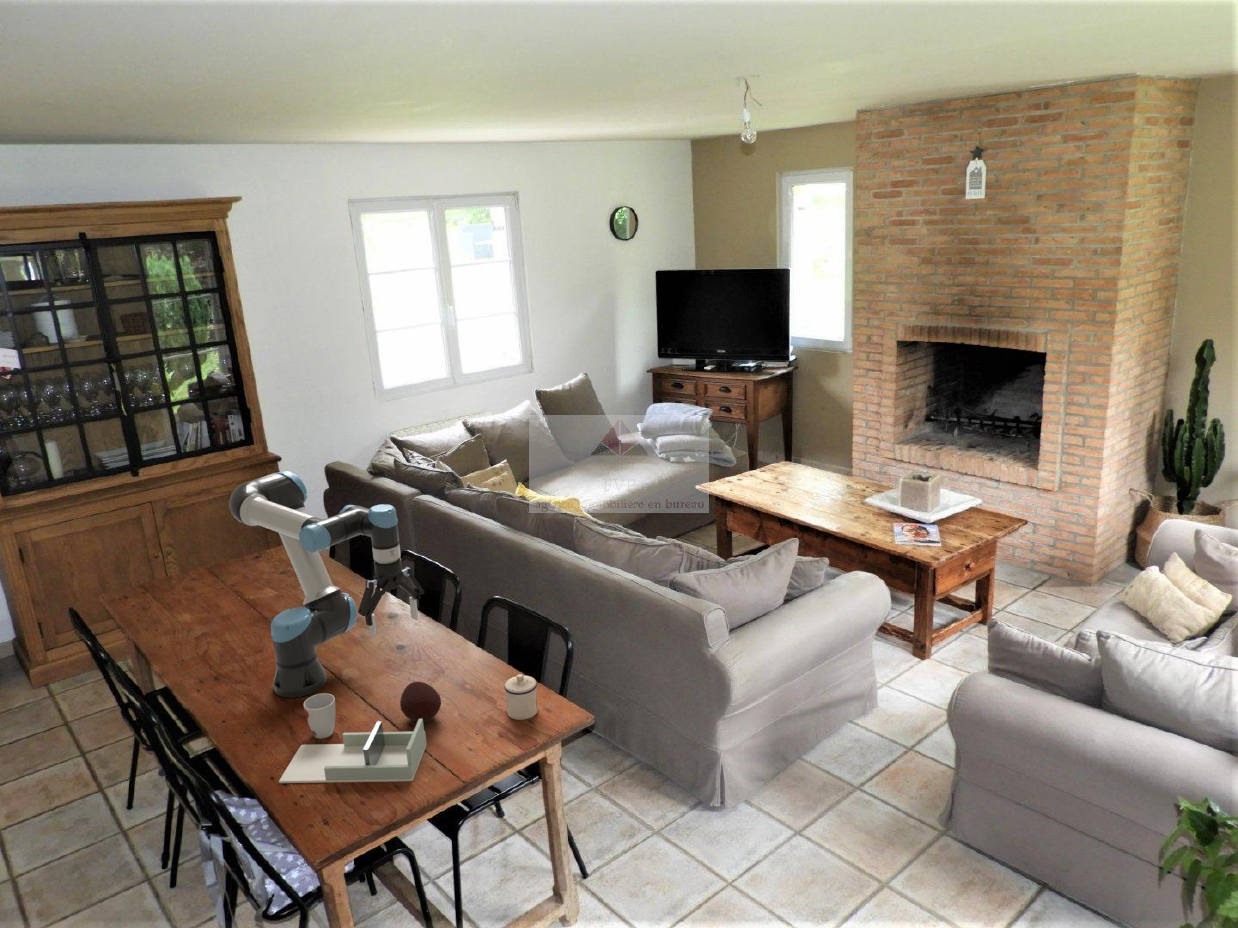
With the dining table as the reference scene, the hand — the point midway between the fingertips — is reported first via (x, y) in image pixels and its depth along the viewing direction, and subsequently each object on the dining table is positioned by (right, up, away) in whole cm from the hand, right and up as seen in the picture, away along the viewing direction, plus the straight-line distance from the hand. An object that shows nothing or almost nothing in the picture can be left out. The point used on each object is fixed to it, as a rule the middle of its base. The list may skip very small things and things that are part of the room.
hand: (394, 626), depth 261 cm
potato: (+10, -25, -8) cm, 28 cm away
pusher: (+2, -30, -27) cm, 40 cm away
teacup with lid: (+37, -23, -5) cm, 44 cm away
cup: (-16, -27, -13) cm, 34 cm away
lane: (-4, -31, -26) cm, 41 cm away
